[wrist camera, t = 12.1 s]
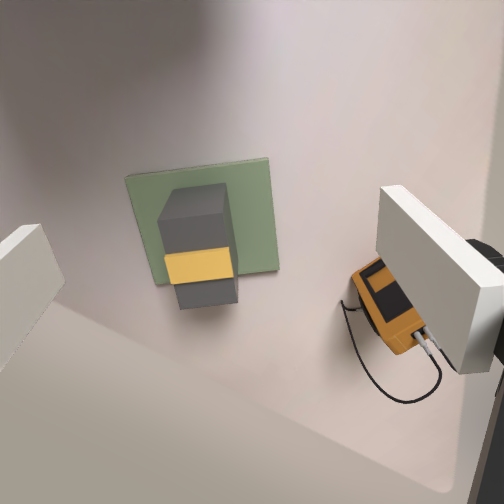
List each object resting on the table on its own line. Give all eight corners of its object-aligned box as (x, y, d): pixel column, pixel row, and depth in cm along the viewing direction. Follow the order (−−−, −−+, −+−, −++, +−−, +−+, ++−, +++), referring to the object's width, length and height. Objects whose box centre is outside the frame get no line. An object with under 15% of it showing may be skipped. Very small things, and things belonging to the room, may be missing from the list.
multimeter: (365, 332, 54) (427, 468, 36) (326, 289, 50) (374, 417, 32) (459, 276, 49) (580, 398, 32) (423, 224, 46) (539, 330, 28)
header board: (127, 175, 42) (114, 189, 37) (267, 157, 41) (270, 169, 37) (157, 279, 48) (149, 301, 44) (278, 265, 48) (282, 285, 44)
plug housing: (172, 189, 41) (155, 223, 33) (226, 182, 41) (222, 215, 33) (190, 265, 46) (179, 313, 37) (238, 260, 46) (238, 306, 37)
